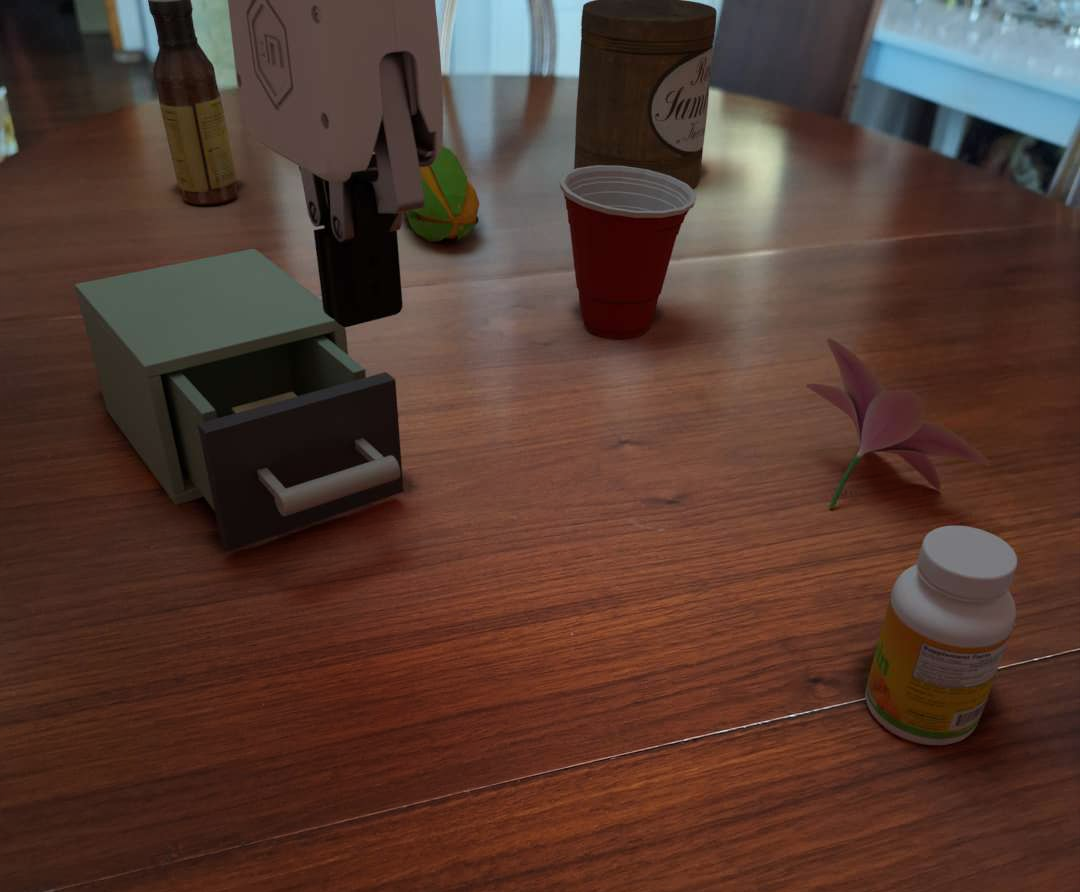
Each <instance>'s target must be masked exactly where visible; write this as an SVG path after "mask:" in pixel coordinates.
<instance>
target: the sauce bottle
mask: <svg viewBox="0 0 1080 892" xmlns="http://www.w3.org/2000/svg"><path fill="white" fill-rule="evenodd" d="M147 2H148V9H149V13H150V14H151V16H152V18H153V22H154V26H155V31H156V36H157V45H158V52H157V55H156V58H155V61H154V65H153V66H152V67H153V68H152V73H153V74H152V75H153V77H154V81H155V82H154V83H155V85H156V90H157V94H158V103H159V107H160V112H161V117H162V121H163V124H164V129H165V134H166V139H167V142H168V148H169V152H170V157H171V161H172V165H173V169H174V174H175V178H176V182H177V186H178V189H179V192H180V195H181V198H182V199H183V200H184V201H185V202H187V203H188V204H191V205H195V206H202V205H203V206H213V205H219V204H225V203H227V202H230V201H232V200H234V199H235V198H237V196H238V186H237V182H236V181H237V173H236V169H235V164H234V159H233V154H232V148H231V143H230V137H229V133H228V132H229V131H228V129H227V123H226V116H225V113H224V107H223V102H222V97H221V94H220V91H219V87H218V83H217V79H216V78H217V77H216V71H215V67H214V65H213V63H212V62H211V61H210V59H209V58H208V55H206V53H205V52H204V50H203V48H202V47H201V45H200V44H199V43H198V37H197V36H196V30H195V26H194V25H195V23H194V19H193V10H194V8H193V4H192V0H147Z"/></svg>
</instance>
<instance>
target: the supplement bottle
mask: <svg viewBox="0 0 1080 892" xmlns="http://www.w3.org/2000/svg"><path fill="white" fill-rule="evenodd" d="M1017 566H1018V557H1017V554H1016V552H1015V550H1014V549H1013V547H1012V546H1011V545H1009V544H1008V542H1006V540H1004V539H1002V538H1001V537H999V536H997V535H995V534H993V533H991V532H988V531H986V530H984V529H981V528H976V527H973V526H967V525H945V526H941V527H937V528H934V529H932V530H931V531H929V532H927V534H926V535H925V536H924V538H923V539H922V543H921V547H920V549H919V553H918V556H917V561H916V564H914V565H912V566H910V567H908V568H907V569H905V570H904V571H903V572H901V574H900V575H899V576H898V577H897V578H896V581H895V582H894V584H893V587H892V590H891V593H890V596H889V601H888V605H887V608H886V612H885V616H884V620H883V622H882V623H883V624H882V628H881V631H880V635H879V639H878V642H877V646H876V649H875V652H874V657H873V660H872V663H871V667H870V671H869V674H868V676H867V677H868V678H867V682H866V687H865V695H864V696H865V701H866V705H867V708H868V709H869V711H870V713H871V715H872V716H873V717H874V718H875V720H876V721H877V722H878V723H879V724H880V725H881V726H883V727H884V729H886V730H887V731H889V732H890V733H891V734H893V735H896V736H897V737H899V738H901V739H903V740H906V741H908V742H912V743H915V744H921V745H925V746H946V745H952V744H957V743H959V742H961V741H963V740H965V739H967V738H968V737H969V736H970V735H971V734H972V733H974V731H975V729H976V728H977V726H978V724H979V721H980V720H981V717H982V714H983V711H984V709H985V706H986V704H987V701H988V698H989V695H990V692H991V689H992V687H993V684H994V682H995V679H996V676H997V673H998V670H999V667H1000V665H1001V663H1002V660H1003V656H1004V653H1005V651H1006V648H1007V646H1008V643H1009V641H1010V638H1011V635H1012V632H1013V629H1014V626H1015V622H1016V617H1017V609H1016V607H1017V606H1016V604H1015V600H1014V598H1013V595H1012V594H1011V593H1010V591H1009V590H1010V587H1011V586H1012V584H1013V579H1014V576H1015V572H1016V570H1017Z"/></svg>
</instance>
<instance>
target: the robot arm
mask: <svg viewBox="0 0 1080 892" xmlns="http://www.w3.org/2000/svg"><path fill="white" fill-rule="evenodd" d="M227 4H228V13H229V23H230V32H231V33H230V34H231V42H232V50H233V59H234V69H235V77H236V85H237V86H236V87H237V94H238V100H239V109H240V114H241V119H242V124H243V125H244V127H245V130H246V131H247V132H248V134H249V135H250V136H251V137H252V138H253V139H254V140H255V141H257V142H258V143H259V144H262V145H263V146H264V147H266V148H267V149H268V150H270V151H272V152H274V153H275V154H277V155H279V156H281V157H283V158H284V159H286V160H287V161H289V162H291V163H293V164H295V165H296V166H298V169H299V172H300V176H301V181H302V187H303V193H304V198H305V205H306V211H307V215H308V217H309V220H310V222H311V225H312V226H313V227H315V228H318V229H313V238H314V245H315V252H316V253H315V254H316V261H317V269H318V277H319V285H320V294H321V300H322V302H323V310H324V312H325V314H327V315H328V316H329V317H331V318H332V319H334V320H335V321H336V322H337V323H339V324H340V325H341V326H343V327H345V328H350V327H353V326H357V325H361V324H365V323H370V322H372V321H373V322H374V321H377V320H381V319H386V318H389V317H393V316H396V315H398V314H399V313H401V311H402V309H403V293H402V291H403V290H402V281H401V280H402V279H401V265H400V254H399V253H400V252H399V239H398V231H400V230H401V228H402V223H403V222H402V221H403V220H402V219H403V218H402V217H403V216H402V214H403V213H406V212H407V211H412V210H417V209H421V208H423V207H424V204H425V195H424V190H423V184H422V178H421V172H420V167H427V166H430V165H431V164H433V163H434V162H435V161H436V159H437V158H438V156H439V154H440V152H441V148H442V146H443V139H444V138H443V137H444V98H443V97H444V95H443V91H444V90H443V78H442V77H443V75H442V59H441V58H442V57H441V48H440V47H441V46H440V38H439V25H438V17H437V6H436V0H227ZM319 227H323V228H319Z"/></svg>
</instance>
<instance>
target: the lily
mask: <svg viewBox="0 0 1080 892" xmlns="http://www.w3.org/2000/svg"><path fill="white" fill-rule="evenodd" d="M826 341H827V344H828V347H829V349H830V351H831V354H832V355H833V358H834V359H835V360H834V361H835V362H836V365H837V367H838V369H839V373H840V376H841V379H842V384H843V387H844V388H843V389H844V391H843V390H842V389H840V388H839V387H837V386H833V385H828V384H821V383H806V385H805V387H806V388H807V389H809V390H810V391H812V392H814V393H815V394H817V395H818V396H820V397H821V398H823V399H824V400H826V401H827V402H829V403H830V404H831V405H834V406H835V408H838V409H839V410H840V411H842V412H843V413H844V414H846V415H847V416H849V417H850V418H851V420H852V422H853V424H854V428H855V430H856V433H857V437H858V440H859V448H858V449H859V450H858V451H857V454H855V457H854V458H853V460H851V462H850V463H849V465H848V467H847V469H846V471H845V472H844V474H843V476H842V478H841V480H840V482H839V484H838V486H837V489H835V490H836V491H835V493H834V495H833V497H832V500H831V502H830V504H829V506H828V508H830V509H832V510H834V509H835V506H836V504H837V503H838V500H839V497H840V495H841V492H842V491H843V489H844V487H845V485H846V483H847V480H848V479H849V477H850V475H851V473H852V472H853V470H854V468H855V467H856V466H857V464H858V462H859V461H860V460H861V458H862V457H863V456H864V455H865V454H869V453H887V454H893V455H898V456H899V457H900V458H902V459H903V460H904V461H905V462H907V464H908V465H910V466H911V467H912V468H913V469H914V470H915V471H917V473H919V475H921V476H922V477H923V478H924V479H925V480H926V481H927V482H928V483H929V484H930V485H931V486H932V487H933V488H934V489H936V490H937V491H940V490H941V489H942V488H941V487H942V486H941V481H940V477H939V474H938V471H937V468H936V466H935V464H934V462H933V461H932V460H931V458H929V457H928V456H932V457H941V458H942V457H944V458H951V459H958V460H962V461H965V462H970V463H974V464H977V465H982V466H987V467H990V466H992V464H991V462H990V460H989V459H988V458H987V457H985V455H984V454H982V453H981V452H980V451H979V450H978V449H977V448H976V447H974V446H973V445H972V444H970V443H969V442H968V441H966V440H965V439H964V438H962V437H961V436H959V435H958V434H956V433H955V432H954V431H952V430H950V429H948V428H947V427H944V426H943V425H941V424H940V423H937V422H933V421H930V420H926V419H924V418H925V413H924V412H925V411H924V409H925V408H924V404H923V401H922V398H921V397H920V395H919V394H918V393H917V392H915V391H913V390H908V389H889V390H887V389H886V387H885V386H884V385H883V383H882V381H881V379H880V377H878V375H877V374H876V373H875V372H874V371H873V370H872V369H871V367H869V366H868V365H867V364H866V363H865V362H864V361H863V360H862V359H860V358H859V356H857V355H856V354H854V353H853V352H852V351H850V350H849V349H848V348H846V347H845V346H844V345H842V344H840V343H839V342H837V341H836V340H834V339H832V338H829V337H828V338H827V339H826Z"/></svg>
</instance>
